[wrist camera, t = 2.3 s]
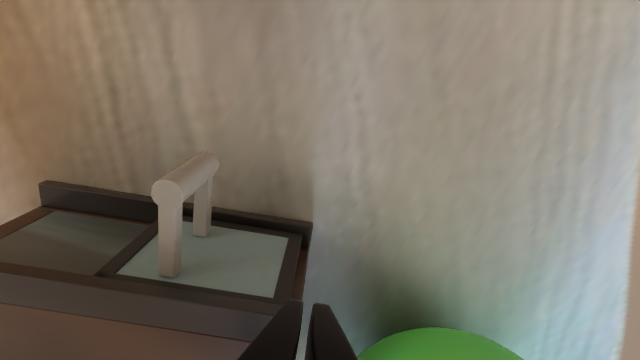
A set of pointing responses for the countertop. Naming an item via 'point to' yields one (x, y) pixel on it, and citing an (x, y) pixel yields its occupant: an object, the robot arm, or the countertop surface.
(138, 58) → the countertop surface
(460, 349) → the toy bird
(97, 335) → the cupboard
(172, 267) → the glass door
